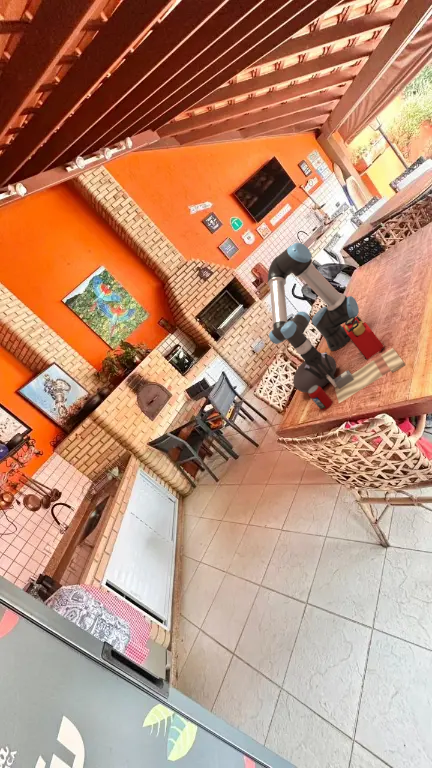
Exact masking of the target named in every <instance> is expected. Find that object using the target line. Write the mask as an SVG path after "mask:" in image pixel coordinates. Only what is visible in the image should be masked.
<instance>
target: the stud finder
mask: <svg viewBox="0 0 432 768" xmlns="http://www.w3.org/2000/svg"><path fill="white" fill-rule="evenodd" d="M352 374H353V373H351V372H350V370H349V369H348V370H345V371H344V372H342V373H341V374H340V375H338V376H337V377H334V378H335V379H334V381H335V384H336V385H337V386H338V388H339V389H340V388H342V387H343V386H345V385H346V384H348V383H350V382H351V381H353V380H354V378H353V375H352Z"/></svg>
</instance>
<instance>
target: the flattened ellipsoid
mask: <svg viewBox="0 0 432 768" xmlns="http://www.w3.org/2000/svg"><path fill="white" fill-rule="evenodd" d="M327 358H328V360H329V362H330V364H331V366H332V369H333V372H332V373H331V374H332V375H333V376H334V377H335V374H336V370H337V362H336V359H335V358H334V357H333V356H332V355H330V354H327ZM322 362H323V364H324V365H325V366H326V367H327V368H328V370H330V369H329V367H328V365H327V363H326V360H325V358H323V356H322ZM305 366H306V362H305V360H303V362H301V364H300V365H299V366H298V367H297V369H296V371H295V372H294V375H293V379H292V380H293V385H294V388H295V389H296V390H297V391H299V392H300V393H301V392H302V393H308V391H309V389H310V388H311V387H312V386H314V385H317V386H320V387H321V388H322V389H323V388H324V387H325V386H326V385H327V384H329V383H328V382H327V381H326V380H325V379H324V378H323V379H319V378H318V377H316V376H315V375H314V374H312V373H311V372H309V371H307V370H305V368H304V367H305ZM318 366H319V367H320V368H321V370H322V371H323V372H324V373H325V374H326V375H327V373H326V371H325V370H324V369H323V368H322V367H321V366H320V365H319V364H318ZM310 368H312V369H313V370H315V371H316V372H317V373H319V372H318V370H317V369H316V368H315V367H314V366H310ZM319 374H320V373H319ZM320 375H321V374H320Z"/></svg>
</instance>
